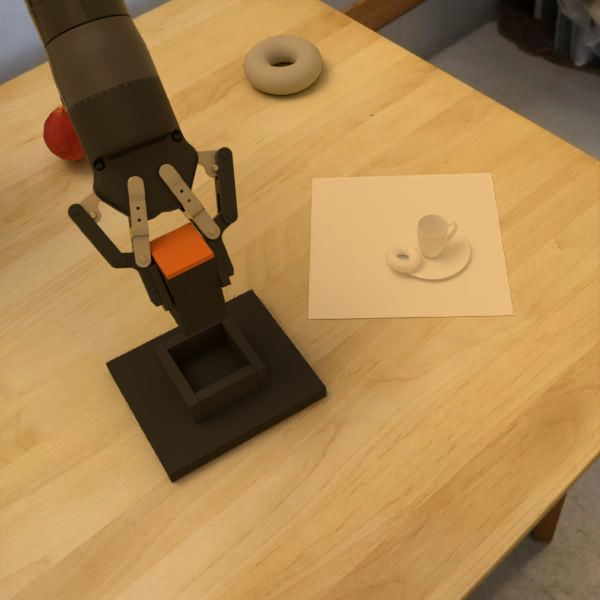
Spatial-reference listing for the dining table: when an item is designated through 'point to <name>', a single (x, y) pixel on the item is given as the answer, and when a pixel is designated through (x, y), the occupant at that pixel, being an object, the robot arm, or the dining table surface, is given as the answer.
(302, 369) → the base pad
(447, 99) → the dining table surface
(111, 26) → the robot arm
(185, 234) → the pad block
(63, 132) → the pomegranate
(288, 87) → the donut
